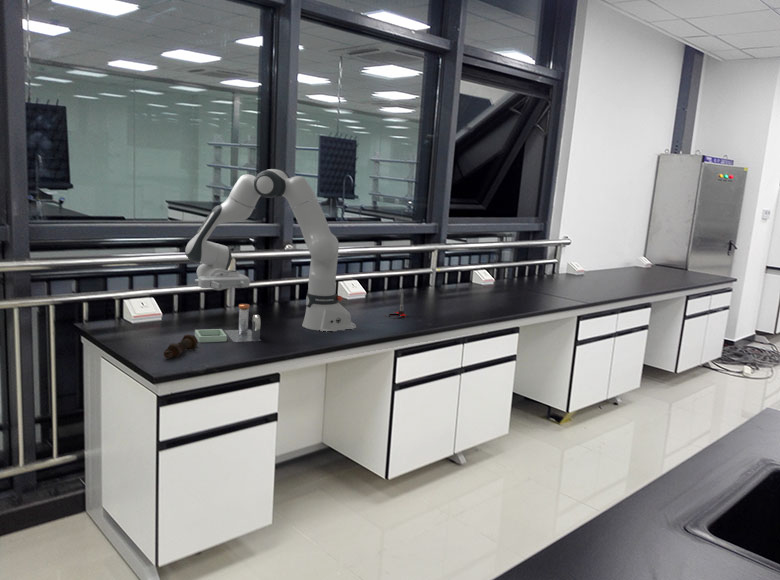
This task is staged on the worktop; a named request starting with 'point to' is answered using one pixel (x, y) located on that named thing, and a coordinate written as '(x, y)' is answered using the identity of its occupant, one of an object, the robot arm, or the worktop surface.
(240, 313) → the lock pin
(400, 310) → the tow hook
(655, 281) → the worktop surface
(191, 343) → the dark brown lumpy piece
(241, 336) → the base
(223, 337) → the tray
